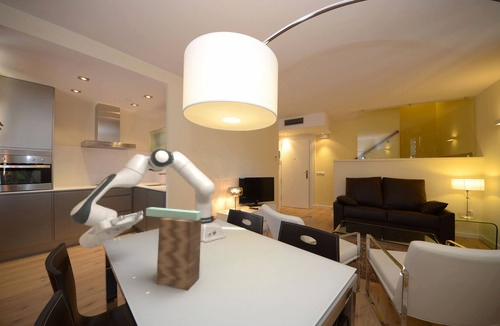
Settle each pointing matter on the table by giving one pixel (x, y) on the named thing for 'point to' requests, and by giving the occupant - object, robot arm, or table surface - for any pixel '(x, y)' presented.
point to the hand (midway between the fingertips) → (132, 214)
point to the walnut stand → (178, 252)
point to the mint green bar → (173, 213)
